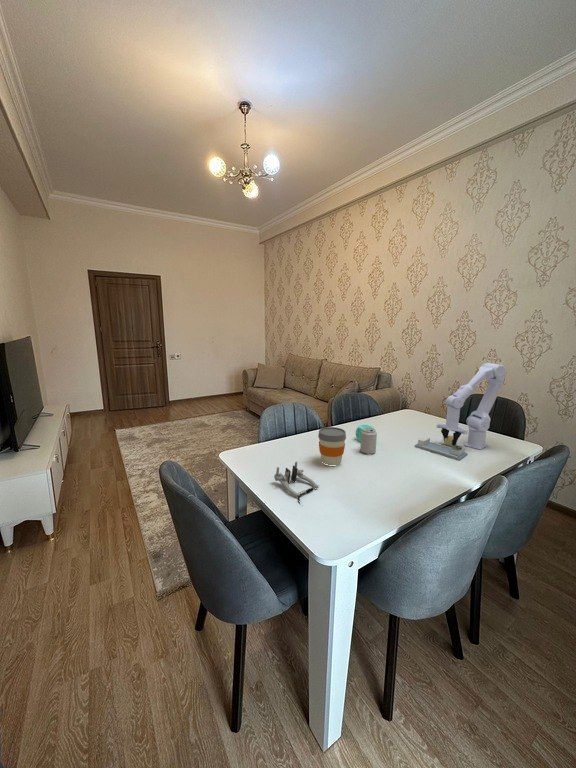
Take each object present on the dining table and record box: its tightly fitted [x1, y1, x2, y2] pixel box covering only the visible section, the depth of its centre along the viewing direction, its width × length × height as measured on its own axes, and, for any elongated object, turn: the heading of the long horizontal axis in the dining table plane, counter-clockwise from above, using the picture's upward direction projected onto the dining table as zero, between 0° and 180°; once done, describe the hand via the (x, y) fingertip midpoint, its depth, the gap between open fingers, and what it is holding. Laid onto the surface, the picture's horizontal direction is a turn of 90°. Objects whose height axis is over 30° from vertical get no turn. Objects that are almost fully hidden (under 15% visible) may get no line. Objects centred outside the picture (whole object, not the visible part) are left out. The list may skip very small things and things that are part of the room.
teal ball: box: [355, 424, 375, 443], centre depth 170 cm, size 8×8×8 cm
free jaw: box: [450, 444, 466, 457], centre depth 150 cm, size 7×4×4 cm, turn 131°
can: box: [359, 427, 378, 455], centre depth 154 cm, size 8×8×12 cm
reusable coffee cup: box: [317, 426, 347, 466], centre depth 142 cm, size 12×13×15 cm
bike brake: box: [273, 461, 320, 502], centre depth 120 cm, size 14×7×20 cm
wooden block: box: [443, 434, 454, 448], centre depth 161 cm, size 6×4×5 cm, turn 131°
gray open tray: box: [414, 436, 469, 461], centre depth 156 cm, size 10×22×4 cm, turn 41°
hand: (450, 444), depth 161 cm, fingers closed on wooden block, 4 cm apart
